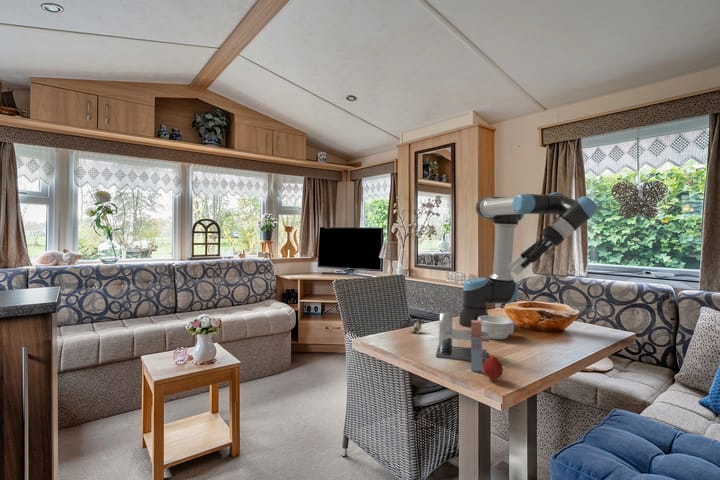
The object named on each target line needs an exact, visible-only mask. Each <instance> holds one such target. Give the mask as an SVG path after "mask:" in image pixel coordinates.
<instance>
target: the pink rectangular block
mask: <svg viewBox="0 0 720 480" xmlns="http://www.w3.org/2000/svg"><path fill="white" fill-rule="evenodd" d="M470 328H471V330H470V331H471V335H470V336H479V337H482V336H481V332H482V331H481V328H482V322H481V321H478V320H472V321H471V327H470Z"/></svg>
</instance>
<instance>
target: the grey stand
mask: <svg viewBox="0 0 720 480" xmlns="http://www.w3.org/2000/svg"><path fill="white" fill-rule="evenodd" d="M438 320H439V321H438V322H439V327H438V328H439V331H438V334H439V335H438V345H437V346H438V347H437V349H436V353H435V358H441V359H450V360H451V359H452V360H460V361H461V360H462V361H469V362H470V372H473V373H474V372H476V373H483V363H484V362H485V360H486V359H488V358H489V357H488V352H487V349H484V348H483V342H485V343H490V340H491V338H489V334H488V332H482V331H481V337H479V336H471V330H469V329H468V330H466V329H457V328H453V313H451V312H445V311H443V312H439V319H438ZM453 339H454V340H464V341H465V340H466V341H470V347H465V346H464V347H463V346H453Z"/></svg>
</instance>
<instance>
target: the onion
mask: <svg viewBox="0 0 720 480" xmlns="http://www.w3.org/2000/svg"><path fill="white" fill-rule="evenodd" d="M503 371H504V370H503V366H502V363H501V361H500V360H499V359H498V358H497V357H496V356H495V355H494V354H491V355H490V357H488V359H486V360H485V362H483V365H482V372H483V373H484V375H485V376H487V378H489V380H490V381H496V380H497V379H499V378H500V377H501V376H502V375H503Z"/></svg>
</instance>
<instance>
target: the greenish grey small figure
mask: <svg viewBox="0 0 720 480" xmlns="http://www.w3.org/2000/svg"><path fill="white" fill-rule="evenodd" d="M422 321H423V320H422V319H416V321H415V322H414V324H413V331H412V330H410V331H409V333H410V332H411V333H413V334H417V335H420V330H421V329H422V324H423V322H422Z"/></svg>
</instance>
